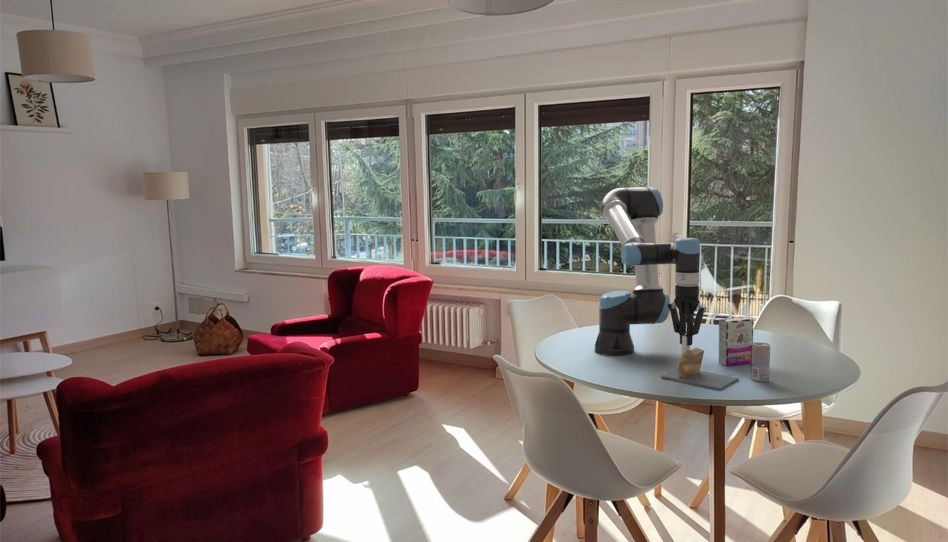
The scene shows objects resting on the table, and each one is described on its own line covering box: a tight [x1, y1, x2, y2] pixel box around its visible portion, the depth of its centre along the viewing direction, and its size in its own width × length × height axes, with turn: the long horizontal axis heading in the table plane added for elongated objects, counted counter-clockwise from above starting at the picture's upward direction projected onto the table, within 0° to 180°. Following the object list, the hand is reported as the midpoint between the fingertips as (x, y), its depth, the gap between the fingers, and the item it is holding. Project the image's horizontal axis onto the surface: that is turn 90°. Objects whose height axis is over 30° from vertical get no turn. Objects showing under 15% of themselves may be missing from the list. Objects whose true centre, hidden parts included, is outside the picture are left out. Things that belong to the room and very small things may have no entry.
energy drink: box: [750, 342, 771, 383], centre depth 204 cm, size 5×5×12 cm
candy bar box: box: [718, 316, 754, 367], centre depth 224 cm, size 11×5×16 cm, turn 105°
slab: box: [677, 347, 705, 379], centre depth 208 cm, size 3×10×8 cm, turn 135°
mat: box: [661, 367, 740, 391], centre depth 207 cm, size 20×14×1 cm
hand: (685, 354), depth 209 cm, fingers closed
